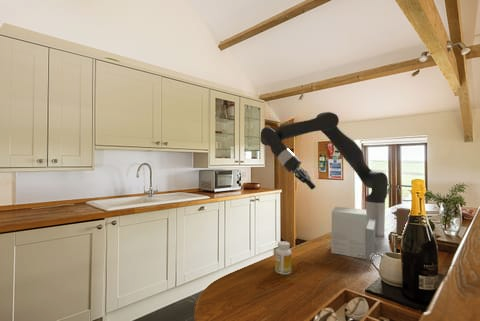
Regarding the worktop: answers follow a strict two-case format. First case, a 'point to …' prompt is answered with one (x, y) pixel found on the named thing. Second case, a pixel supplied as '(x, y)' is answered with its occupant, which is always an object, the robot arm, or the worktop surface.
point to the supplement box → (349, 232)
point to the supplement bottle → (283, 258)
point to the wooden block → (401, 219)
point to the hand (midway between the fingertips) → (313, 188)
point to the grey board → (370, 238)
